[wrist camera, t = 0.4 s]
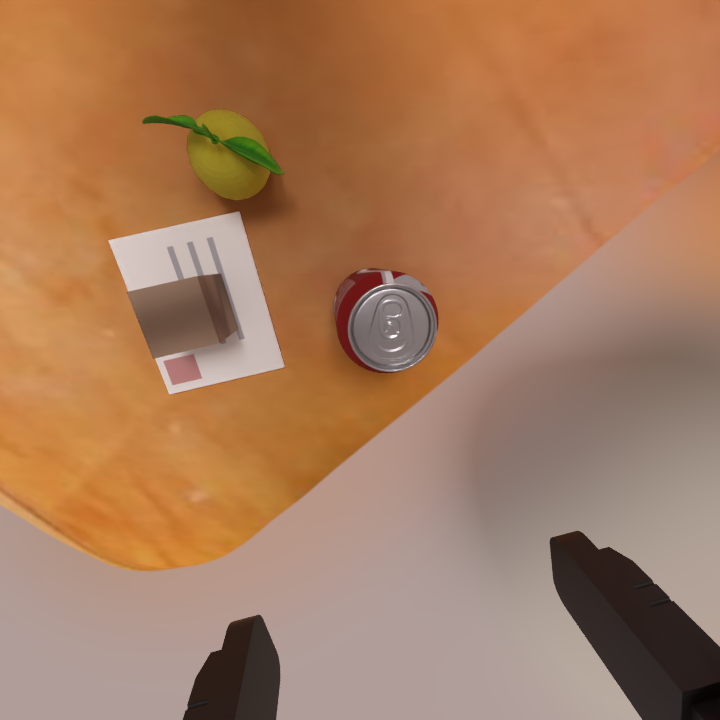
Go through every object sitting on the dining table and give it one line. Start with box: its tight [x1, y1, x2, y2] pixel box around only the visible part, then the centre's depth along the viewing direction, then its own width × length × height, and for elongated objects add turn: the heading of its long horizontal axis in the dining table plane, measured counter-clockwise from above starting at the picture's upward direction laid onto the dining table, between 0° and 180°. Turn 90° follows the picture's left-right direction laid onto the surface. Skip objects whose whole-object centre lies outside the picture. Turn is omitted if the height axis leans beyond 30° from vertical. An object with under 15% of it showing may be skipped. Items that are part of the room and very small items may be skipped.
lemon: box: [143, 109, 284, 200], centre depth 25 cm, size 7×6×10 cm
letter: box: [108, 211, 285, 395], centre depth 32 cm, size 14×11×1 cm
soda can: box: [334, 268, 438, 373], centre depth 28 cm, size 7×7×12 cm
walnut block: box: [127, 273, 239, 359], centre depth 29 cm, size 5×5×6 cm
